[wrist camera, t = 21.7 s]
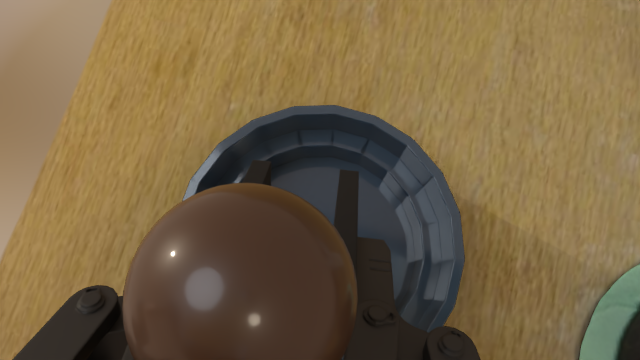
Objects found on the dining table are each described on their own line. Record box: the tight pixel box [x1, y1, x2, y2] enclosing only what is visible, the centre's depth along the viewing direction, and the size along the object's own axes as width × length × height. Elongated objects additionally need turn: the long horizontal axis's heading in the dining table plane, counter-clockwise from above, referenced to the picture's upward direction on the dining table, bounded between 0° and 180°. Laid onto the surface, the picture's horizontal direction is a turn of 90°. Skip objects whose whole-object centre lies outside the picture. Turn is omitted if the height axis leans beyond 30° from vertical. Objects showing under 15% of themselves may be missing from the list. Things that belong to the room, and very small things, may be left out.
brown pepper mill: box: [122, 183, 358, 360], centre depth 14 cm, size 6×6×18 cm
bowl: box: [183, 105, 465, 360], centre depth 27 cm, size 16×16×6 cm
